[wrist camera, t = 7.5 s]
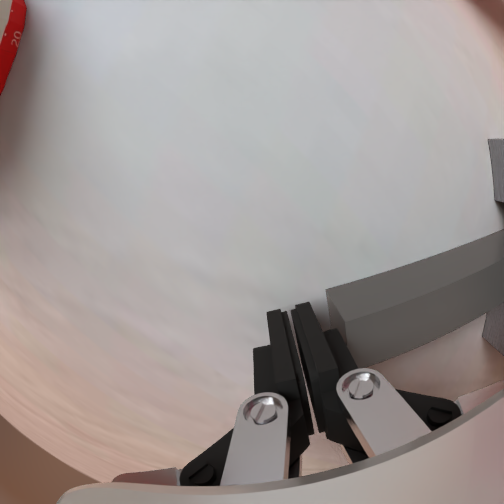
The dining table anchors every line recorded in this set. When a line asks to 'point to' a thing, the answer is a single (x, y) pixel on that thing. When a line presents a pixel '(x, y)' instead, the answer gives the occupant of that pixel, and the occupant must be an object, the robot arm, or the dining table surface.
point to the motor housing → (500, 318)
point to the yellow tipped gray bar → (418, 300)
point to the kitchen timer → (10, 34)
